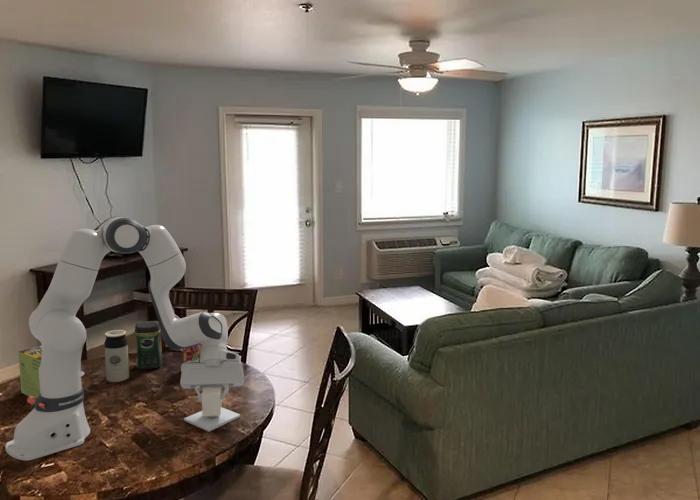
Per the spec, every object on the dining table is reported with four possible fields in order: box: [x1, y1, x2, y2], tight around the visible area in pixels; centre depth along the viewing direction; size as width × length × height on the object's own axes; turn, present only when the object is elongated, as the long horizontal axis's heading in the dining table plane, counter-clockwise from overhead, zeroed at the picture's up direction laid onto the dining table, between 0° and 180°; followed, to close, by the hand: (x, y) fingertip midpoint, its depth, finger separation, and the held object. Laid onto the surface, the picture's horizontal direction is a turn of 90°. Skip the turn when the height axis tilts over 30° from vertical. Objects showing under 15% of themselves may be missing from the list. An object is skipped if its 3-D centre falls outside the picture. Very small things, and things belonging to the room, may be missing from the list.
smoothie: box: [182, 343, 202, 364], centre depth 228 cm, size 8×8×20 cm
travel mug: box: [104, 329, 130, 383], centre depth 218 cm, size 8×8×18 cm
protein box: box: [18, 345, 42, 399], centre depth 204 cm, size 10×15×16 cm
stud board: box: [183, 407, 241, 432], centre depth 187 cm, size 13×12×6 cm
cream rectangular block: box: [201, 386, 223, 416], centre depth 186 cm, size 6×6×8 cm
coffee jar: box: [134, 320, 163, 370], centre depth 231 cm, size 10×8×19 cm
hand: (211, 399), depth 186 cm, fingers closed on cream rectangular block, 6 cm apart
